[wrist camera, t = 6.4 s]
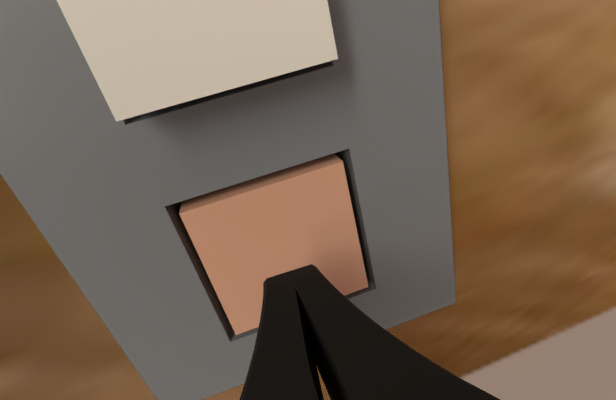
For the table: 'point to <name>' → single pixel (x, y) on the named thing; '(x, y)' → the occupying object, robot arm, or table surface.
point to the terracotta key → (276, 234)
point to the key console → (227, 178)
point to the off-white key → (194, 46)
